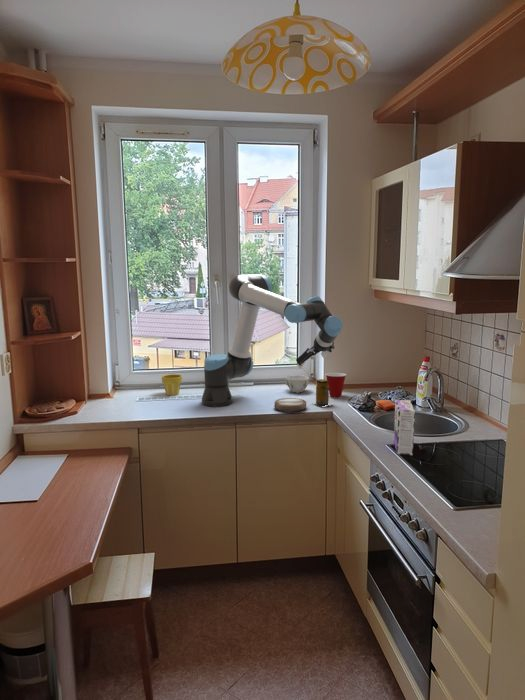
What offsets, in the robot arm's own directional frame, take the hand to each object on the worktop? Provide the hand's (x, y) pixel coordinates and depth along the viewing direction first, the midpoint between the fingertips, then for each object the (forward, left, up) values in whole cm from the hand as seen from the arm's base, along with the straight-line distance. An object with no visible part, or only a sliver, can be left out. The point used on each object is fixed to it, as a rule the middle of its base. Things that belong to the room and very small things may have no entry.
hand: (310, 361), depth 233 cm
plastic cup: (-10, +19, -22) cm, 31 cm away
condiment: (+2, +6, -22) cm, 23 cm away
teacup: (-27, +4, -22) cm, 35 cm away
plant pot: (-45, -59, -22) cm, 78 cm away
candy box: (+64, +8, -22) cm, 68 cm away
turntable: (+2, -11, -22) cm, 24 cm away
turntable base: (+2, -11, -22) cm, 24 cm away
